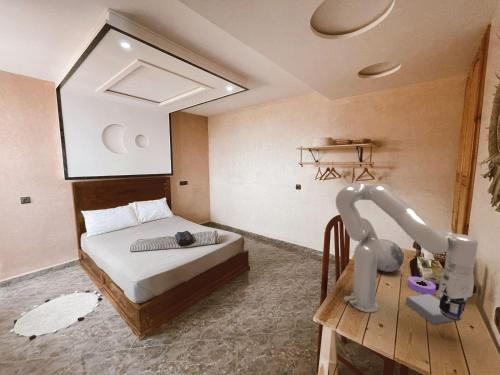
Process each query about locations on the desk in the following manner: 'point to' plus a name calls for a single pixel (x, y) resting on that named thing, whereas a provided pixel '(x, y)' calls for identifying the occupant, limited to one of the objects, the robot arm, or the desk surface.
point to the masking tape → (419, 288)
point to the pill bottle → (454, 309)
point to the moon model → (389, 256)
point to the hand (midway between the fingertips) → (451, 309)
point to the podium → (427, 308)
